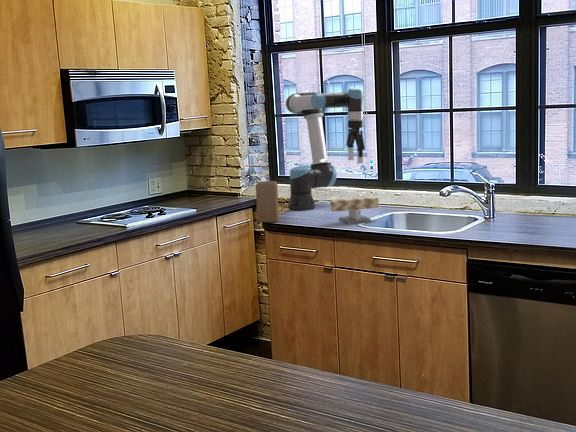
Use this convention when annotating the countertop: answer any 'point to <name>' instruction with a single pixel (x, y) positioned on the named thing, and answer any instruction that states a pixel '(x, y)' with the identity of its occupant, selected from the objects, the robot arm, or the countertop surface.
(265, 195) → the wooden block
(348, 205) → the beech bar
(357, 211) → the fulcrum
